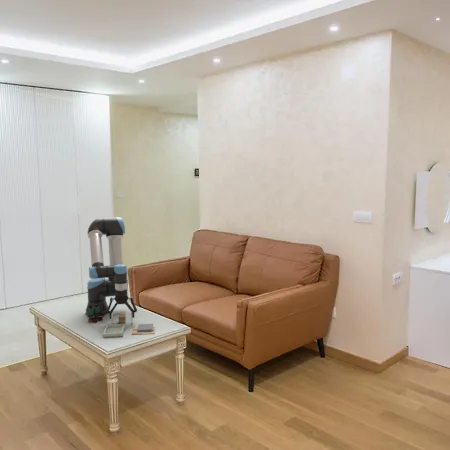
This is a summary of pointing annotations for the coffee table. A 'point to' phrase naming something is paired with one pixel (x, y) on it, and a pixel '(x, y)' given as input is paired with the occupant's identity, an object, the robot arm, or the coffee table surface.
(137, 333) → the cork mat
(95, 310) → the binoculars
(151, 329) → the grey square tile
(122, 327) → the tray
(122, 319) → the block
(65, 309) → the coffee table surface
